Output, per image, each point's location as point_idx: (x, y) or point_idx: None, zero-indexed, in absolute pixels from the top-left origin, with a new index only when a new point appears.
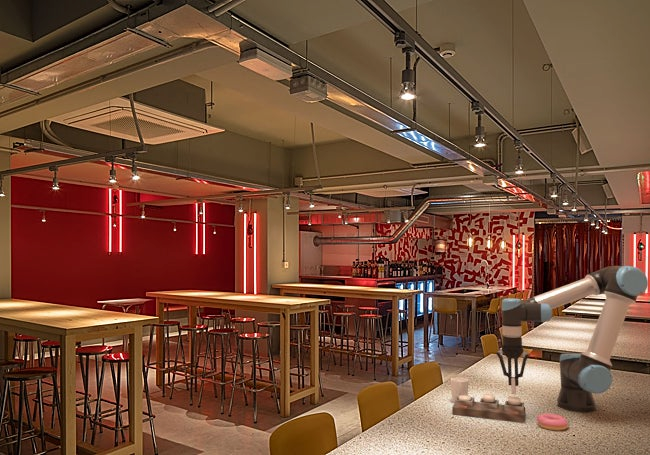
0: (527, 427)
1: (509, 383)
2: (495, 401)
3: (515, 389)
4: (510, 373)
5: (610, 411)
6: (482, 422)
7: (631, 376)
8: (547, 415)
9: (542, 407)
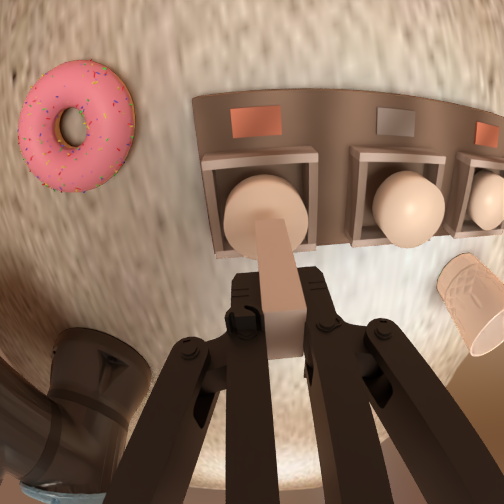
0: (176, 41)
1: (314, 277)
2: (365, 235)
3: (257, 253)
4: (324, 354)
5: (39, 352)
6: (391, 32)
7: None
8: (84, 152)
9: (179, 336)
